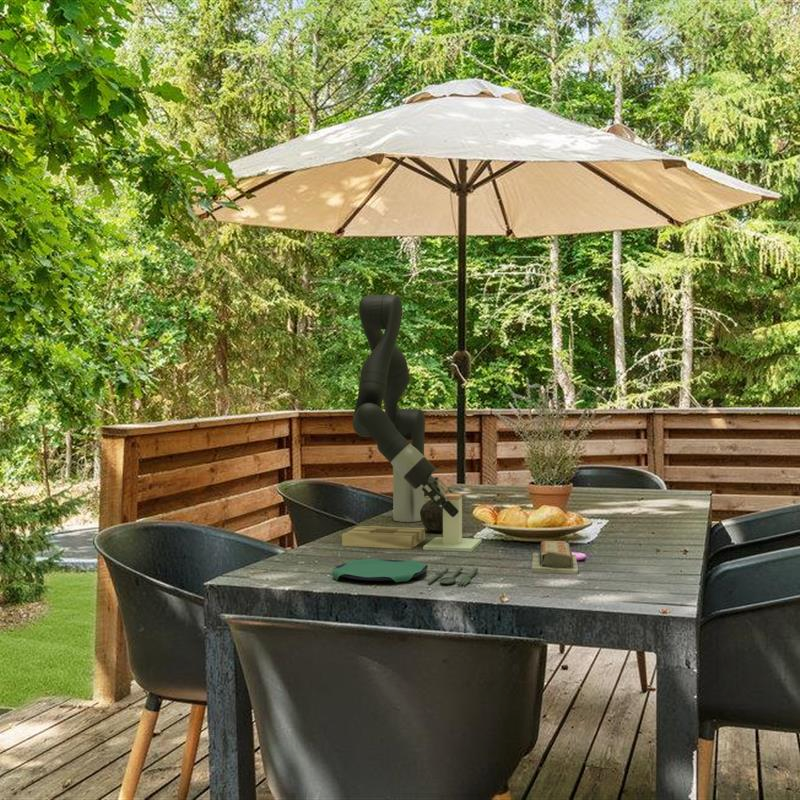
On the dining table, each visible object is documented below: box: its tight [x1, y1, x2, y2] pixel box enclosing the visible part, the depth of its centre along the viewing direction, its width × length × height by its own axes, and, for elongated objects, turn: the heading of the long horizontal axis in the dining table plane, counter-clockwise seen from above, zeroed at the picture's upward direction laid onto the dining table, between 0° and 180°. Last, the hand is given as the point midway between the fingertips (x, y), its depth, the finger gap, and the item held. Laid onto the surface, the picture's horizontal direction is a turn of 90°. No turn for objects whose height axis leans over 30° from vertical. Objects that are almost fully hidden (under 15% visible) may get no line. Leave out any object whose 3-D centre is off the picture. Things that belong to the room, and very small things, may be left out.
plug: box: [442, 493, 463, 545], centre depth 231 cm, size 5×4×12 cm
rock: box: [420, 499, 443, 533], centre depth 254 cm, size 10×11×10 cm
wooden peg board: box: [341, 525, 426, 550], centre depth 236 cm, size 14×18×3 cm
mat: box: [422, 536, 482, 553], centre depth 231 cm, size 14×12×1 cm
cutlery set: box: [331, 558, 479, 586], centre depth 194 cm, size 20×30×2 cm, turn 72°
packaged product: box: [531, 540, 579, 575], centre depth 206 cm, size 18×5×10 cm
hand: (458, 512), depth 231 cm, fingers open, 8 cm apart
